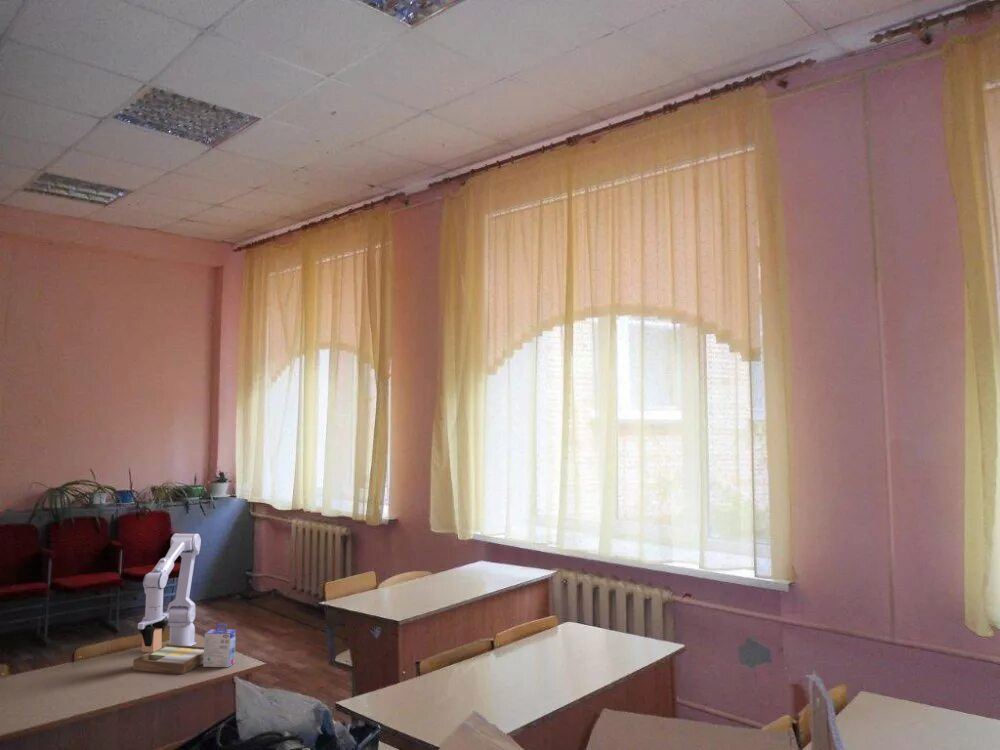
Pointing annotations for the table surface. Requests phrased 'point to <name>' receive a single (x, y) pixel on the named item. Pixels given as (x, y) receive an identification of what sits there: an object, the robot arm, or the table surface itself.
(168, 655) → the puzzle tray
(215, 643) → the ink cartridge box
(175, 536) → the robot arm
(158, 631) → the terracotta block
